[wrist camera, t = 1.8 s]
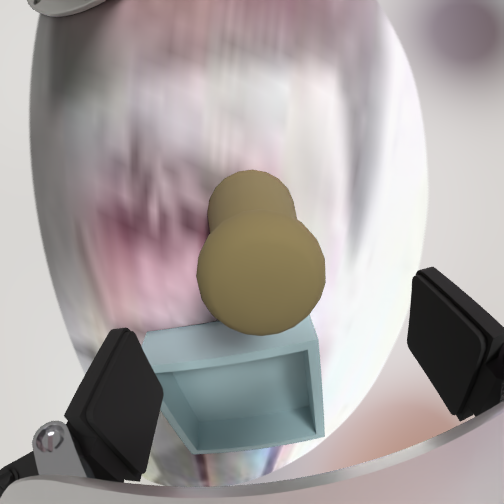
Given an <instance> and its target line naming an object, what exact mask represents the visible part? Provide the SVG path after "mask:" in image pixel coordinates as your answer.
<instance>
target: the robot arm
mask: <svg viewBox="0 0 504 504" xmlns="http://www.w3.org/2000/svg"><path fill="white" fill-rule="evenodd" d="M27 1H28V4H29V5H30V6H31V7H32V9H33V10H35V11H37V12H39V13H41V14H44V15H47V16H53V17H61V16H68V15H73V14H76V13H79V12H83V11H85V10H88V9H90V8H92V7H94V6H97V5H99V4H101V3H102V2H104V1H106V0H27ZM407 344H408V347H409V349H410V351H411V352H412V354H413V355H414V357H415V358H416V360H417V361H418V363H419V364H420V366H421V367H422V369H423V370H424V372H425V373H426V375H427V376H428V378H429V379H430V381H431V383H432V384H433V386H434V387H435V389H436V390H437V392H438V393H439V395H440V397H441V398H442V400H443V401H444V403H445V405H446V406H447V408H448V410H449V411H450V412H451V414H452V415H456V416H457V417H458V419H459V421H462V420H464V419H466V418H468V417H470V416H472V415H473V414H474V415H475V417H474V418H473V419H471V420H469V421H467V422H465V423H463V424H461V425H459V426H456V427H454V428H452V429H450V430H448V431H446V432H444V433H442V434H440V435H437V436H436V437H433V438H431V439H428V440H426V441H424V442H421V443H419V444H416V445H414V446H412V447H409V448H407V449H404V450H401V451H398V452H396V453H392V454H390V455H387V456H384V457H381V458H378V459H375V460H371V461H368V462H365V463H361V464H358V465H354V466H350V467H347V468H343V469H339V470H335V471H331V472H326V473H322V474H317V475H312V476H307V477H301V478H296V479H290V480H283V481H277V482H269V483H260V484H250V485H238V486H220V487H171V486H154V485H141V484H131V483H124V479H125V480H130V481H140V479H141V475H142V474H144V473H145V472H146V469H147V464H148V459H149V455H150V450H151V446H152V442H153V437H154V433H155V429H156V425H157V420H158V416H159V412H160V408H161V404H162V400H163V396H164V392H163V388H162V385H161V384H160V382H159V380H158V378H157V376H156V374H155V372H154V371H153V369H152V367H151V365H150V363H149V361H148V359H147V357H146V355H145V353H144V351H143V349H142V347H141V345H140V343H139V341H138V338H137V336H136V334H135V333H134V332H133V331H130V330H129V329H128V328H119V329H112V330H111V331H110V332H109V334H108V336H107V337H106V339H105V341H104V342H103V344H102V346H101V348H100V349H99V351H98V353H97V355H96V356H95V358H94V360H93V362H92V363H91V365H90V367H89V369H88V371H87V372H86V374H85V376H84V379H83V380H82V382H81V384H80V385H79V387H78V389H77V391H76V393H75V395H74V397H73V399H72V401H71V403H70V405H69V407H68V409H67V411H66V413H65V415H64V416H65V418H66V419H67V420H68V422H67V424H64V423H63V422H60V421H51V422H48V423H46V424H45V425H43V426H41V427H40V429H38V430H37V432H36V433H35V435H34V438H33V441H32V445H33V451H32V452H30V453H29V454H27V455H25V456H23V457H21V458H20V459H18V460H16V461H14V462H12V463H10V464H8V465H7V466H5V467H3V468H2V469H1V470H0V504H504V327H503V326H502V325H500V324H499V323H498V322H497V321H496V320H495V319H494V318H493V317H492V316H491V315H490V314H489V313H487V312H486V311H485V310H484V309H483V308H482V307H481V306H480V305H479V304H477V303H476V302H475V301H474V300H473V299H472V298H471V297H469V296H468V295H467V294H466V293H465V292H464V291H462V290H461V289H460V288H459V287H458V286H457V285H455V284H454V283H453V282H451V281H450V280H449V279H448V278H447V277H446V276H444V275H443V274H442V273H441V272H439V271H438V270H437V269H436V268H434V267H429V268H426V269H422V270H418V271H417V273H416V276H414V277H413V279H412V293H411V307H410V318H409V328H408V337H407Z"/></svg>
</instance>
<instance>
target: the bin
mask: <svg viewBox="0 0 504 504" xmlns="http://www.w3.org/2000/svg"><path fill="white" fill-rule="evenodd" d="M142 349H143V351H144V353H145V355H146V357H147V359H148V361H149V363H150V365H151V367H152V369H153V371H154V372H155V374H156V376H157V378H158V380H159V382H160V384H161V385H162V388H163V392H164V396H163V400H162V404H161V408H160V410H161V412H162V413H163V415H164V416H165V417H166V419H167V420H168V422H169V423H170V425H171V426H172V428H173V429H174V430H175V432H176V433H177V435H178V436H179V437H180V439H181V440H182V441H183V443H184V444H185V446H186V447H187V448H188V450H189V451H190V452H191V453H192V454H210V453H224V452H235V451H245V450H253V449H261V448H268V447H275V446H281V445H287V444H292V443H297V442H302V441H307V440H312V439H317V438H321V437H325V433H324V412H323V395H322V380H321V366H320V354H319V342H318V337H317V334H316V331H315V329H314V326H313V323H312V320H311V318H310V315H308V316H307V317H306V318H305V319H304V320H303V321H301V322H300V323H299V324H297V325H296V326H295V327H293V328H291V329H288V330H286V331H284V332H281V333H279V334H273V335H266V336H256V335H247V334H243V333H240V332H238V331H235V330H233V329H230V328H229V327H227V326H226V325H224V324H223V323H222V322H220V321H216V322H210V323H204V324H197V325H191V326H185V327H178V328H171V329H164V330H157V331H150V332H147V334H146V336H145V339H144V341H143V344H142Z"/></svg>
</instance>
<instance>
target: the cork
mask: <svg viewBox="0 0 504 504" xmlns="http://www.w3.org/2000/svg"><path fill="white" fill-rule="evenodd" d="M208 221H209V228H210V234H209V236H208V238H207V240H206V242H205V244H204V246H203V248H202V250H201V252H200V254H199V257H198V265H197V274H196V277H197V282H198V286H199V290H200V294H201V298H202V301H203V302H204V304H205V305H206V307H207V308H208V310H209V311H210V313H211V314H212V315H213V316H214V317H215V318H217V319H218V320H219V321H220V322H222V323H223V324H224V325H226V326H227V327H229V328H230V329H233V330H235V331H238V332H240V333H243V334H247V335H256V336H266V335H273V334H279V333H281V332H284V331H286V330H288V329H291V328H293V327H295V326H296V325H297V324H299V323H300V322H301V321H303V320H304V319H305V318H306V317H307V316H308V315H309V314H310V313H311V311H312V310H313V308H314V307H315V306H316V304H317V303H318V301H319V300H320V298H321V295H322V292H323V289H324V286H325V258H324V256H323V253H322V251H321V248H320V246H319V243H318V241H317V239H316V238H315V237H314V236H313V234H312V233H311V232H310V231H309V230H308V229H307V228H306V227H305V226H304V225H303V223H302V222H300V221H298V220H297V217H296V212H295V207H294V202H293V199H292V197H291V195H290V193H289V190H288V188H287V187H286V186H285V185H284V184H283V183H282V182H281V181H280V180H279V179H278V178H276V177H274V176H272V175H270V174H269V173H267V172H262V171H257V170H247V171H240V172H237V173H235V174H233V175H231V176H229V177H227V178H225V179H224V180H223V181H222V182H221V183H220V184H219V185H218V186H217V187H216V188H215V190H214V192H213V194H212V196H211V198H210V200H209V206H208Z"/></svg>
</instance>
